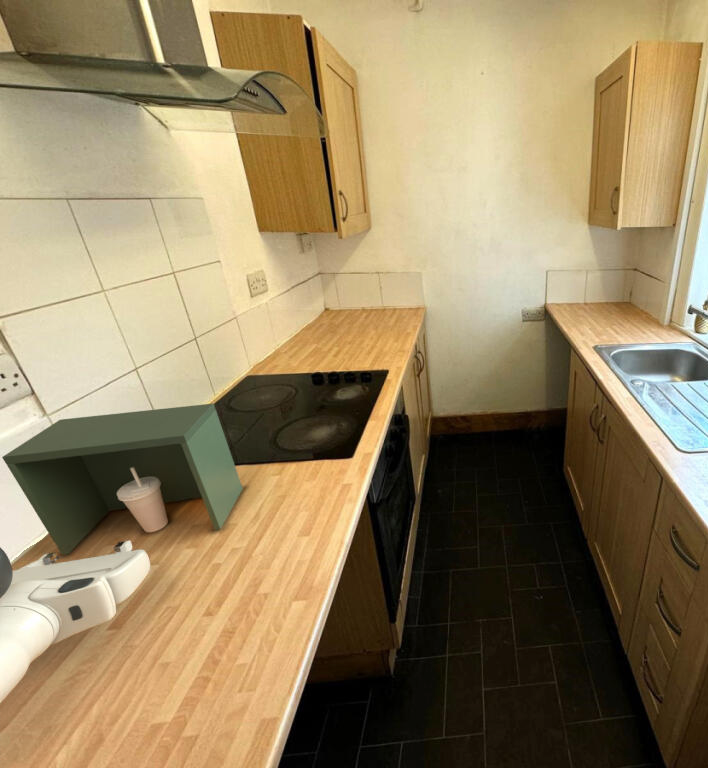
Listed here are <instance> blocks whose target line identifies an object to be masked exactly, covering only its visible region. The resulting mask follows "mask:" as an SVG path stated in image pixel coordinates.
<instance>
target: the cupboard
mask: <svg viewBox="0 0 708 768" xmlns="http://www.w3.org/2000/svg"><path fill="white" fill-rule="evenodd" d="M1 458H2V459H3V461H4V463H5V464H6V466H7V468H8V469H9V471H10V473H11V474H12V476H13V478H14V479H15V481H16V482H17V484H18V486H19V487H20V489H21V491H22V493H23V494H24V496H25V497H26V498H27V501H28V502H29V504H30V505H31V506H32V508H33V511H34V512H35V513H36V515H37V517H38V519H39V521H40V522H41V523H42V525H43V526H44V528H45V529H46V531H47V533H48V535H49V536H50V538H51V539H52V542H53V543H54V544H55V546H56V547H57V549H58V551H59V553H60V554H61V555H62V556H65V555H69V554H70V553H71V552H72V551H73V550H74V549H75V548H76V547H77V546H78V545H79V544H80V543H81V542H82V541H83V540H84V538H85V537H86V536H87V535H88V534H89V533H90V532H91V531H92V530H93V529H94V528H95V527H96V526H97V524H98V523H100V521H101V520H102V519H103V518H105V516H106V515H107V514H108V513H109V512H111V511H117V510H123V509H128V508H127V506H126V505H125V504H124V502H123V501H120V500H119V499H118V496H117V491H118V490H119V489H120V488H121V487H122V486H124V485H125V484H127V483H129V482H131V481H134V480H135V478H134V476H133V474H132V472H131V470H130V468H131V467H134V469H135V471H136V473H137V475H138V477H139V478H143V477H157V478H158V479H159V481H160V482H161V485H160V490H161V494H162V498H163V502H164V504H166V503H172V502H179V501H185V500H193V499H198V498H199V499H200V498H202V501H203V503H204V506H205V508H206V511H207V514H208V516H209V518H210V521H211V524H212V526H213V528H214V531H219V530H221V529H222V528H223V526H224V525H225V522H226V521H227V519H228V517H229V515H230V514H231V511H232V509H233V508H234V505H235V504H236V502H237V500H238V498H239V497H240V495H241V493H242V491H243V489H244V488H243V485H242V482H241V479H240V477H239V474H238V471H237V468H236V465H235V462H234V460H233V456H232V453H231V450H230V448H229V445H228V441H227V439H226V436H225V433H224V430H223V427H222V424H221V421H220V418H219V416H218V413H217V409H216V407H215V404H214V403H204V404H197V405H196V404H195V405H185V406H176V407H167V408H157V409H150V410H149V409H148V410H138V411H129V412H118V413H110V414H100V415H91V416H81V417H72V418H62V419H59V420H57V421H55V422H54V423H52V424H51V425H50V426H47V427H46V428H45V429H43V430H42V431H40V432H39V433H37V434H36V435H33V436H31V438H29V439H28V440H26V441H24V442H23V443H22V444H20V445H19V446H17V447H15V448H14V449H12V450H11V451H9V452H8V453H6V454H5V455H3V456H2V457H1Z"/></svg>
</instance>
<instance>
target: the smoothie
mask: <svg viewBox="0 0 708 768" xmlns="http://www.w3.org/2000/svg"><path fill="white" fill-rule="evenodd" d="M130 470H131V472H132V474H133V476H134V478H135V480H134V481H131V482H129V483H127V484H125V485H124V486H122V487H121V488H120V489H119V490H118V491H117V496H118V499H119V500H120V501H123V502H124V504H125V505H126V506H127V508H126V509H128V510H129V512H130V513H131V514H132V515H133V517H134V518H135V520H136V521H137V522H138V524H139V525H140V527H142V529H143V530H144V532H146V533H153V532H157V531H159V530H161V529H164V528H165V527H166V526H167V525H168V523H169V519H168V515H167V511H166V507H165V503H164V502H163V498H162V494H161V490H160V485H161V482H160V481H159V479H158V478H157V477H143V478H139V477H138V475H137V473H136V471H135V469H134V467H131V468H130Z"/></svg>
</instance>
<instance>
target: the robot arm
mask: <svg viewBox="0 0 708 768" xmlns="http://www.w3.org/2000/svg"><path fill="white" fill-rule="evenodd" d="M113 550H114V552H115V553H110V554H105V555H98V556H92V557H85V558H80V559H74V560H67V561H63V562H61V557H60V555H59V553H60V552H57V551H56V552H49V553H44V554H43V555H42V556H41V557H39V559H37V560H34V561H32V562H30V563H28V564H25V565H24V566H22V567H19V568H17V569H15V570H14V569H13V566H12V564H11V560H10V558H9V557H8V554H7V553H6V552H5V550H3V548H2V547H0V704H1V703H2V702H3V701H4V700H5V699H6V698H7V697H8V696H9V695H10V693H11V692H12V691H13V690H14V689H15V687H16V686H17V685H18V684H19V683H20V682H21V680H22V679H23V678H24V677H25V675H26V673H27V672H28V670H29V667H30V664H31V663H32V662H33V661H34V660H36V659H38V658H39V657H40V656H41V655H42V654H43V653H45V651H46V650H47V649H48V648H49V647H50V646H53V645H55V644H58V643H59V642H62V641H64V640H66V639H68V638H70V637H72V636H75V635H76V634H79V633H81V632H83V631H86V630H89V629H91V628H94V627H97V626H100V625H102V624H104V623H107V622H108V621H110V620H112V619H113V618H114V617H115V616H116V613H117V605H120V604H121V603H123V602H124V601H126V600H127V599H129V598H130V596H131V595H132V594H133V593H134V592H135V591H136V590H137V588H139V586H140V585H141V584H142V583H143V581H144V580H145V579H146V577H147V576H148V574H149V573H150V571H151V561H150V558H149V555H148V553H147V552H146V550H144V549H143V548H142V549H141V548H139V549H134V550H133V543H132V541H131V540H130V539H129V540H124V541H119V542H117V544H115V545H114V547H113Z"/></svg>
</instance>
